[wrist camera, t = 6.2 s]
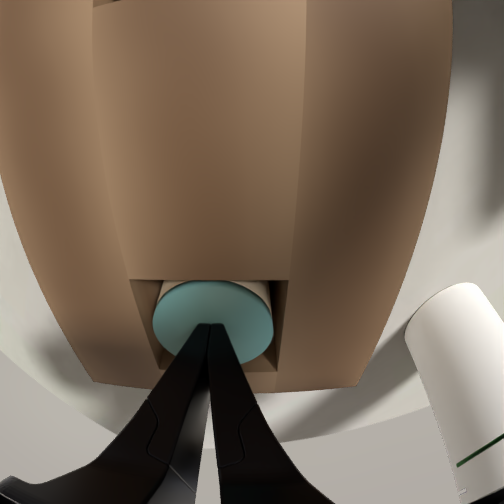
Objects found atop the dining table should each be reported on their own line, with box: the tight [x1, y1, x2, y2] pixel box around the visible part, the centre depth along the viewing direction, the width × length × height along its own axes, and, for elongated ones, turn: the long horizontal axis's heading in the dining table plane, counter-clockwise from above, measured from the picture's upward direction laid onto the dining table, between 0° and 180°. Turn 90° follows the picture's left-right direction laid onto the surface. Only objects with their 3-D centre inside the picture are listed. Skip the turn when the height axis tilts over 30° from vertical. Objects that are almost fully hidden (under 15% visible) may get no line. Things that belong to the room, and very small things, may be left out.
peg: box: [153, 280, 273, 364], centre depth 12 cm, size 4×4×6 cm
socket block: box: [0, 0, 453, 393], centre depth 9 cm, size 12×20×6 cm, turn 179°
